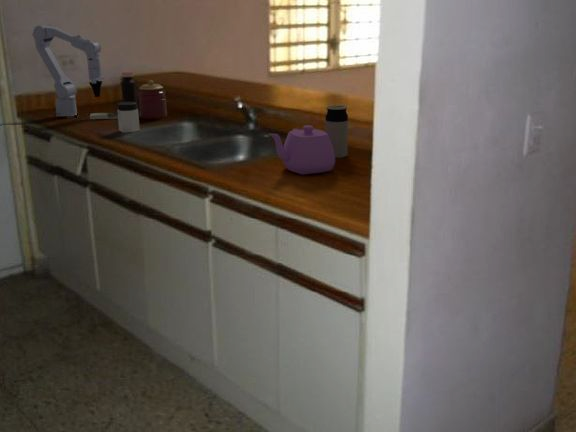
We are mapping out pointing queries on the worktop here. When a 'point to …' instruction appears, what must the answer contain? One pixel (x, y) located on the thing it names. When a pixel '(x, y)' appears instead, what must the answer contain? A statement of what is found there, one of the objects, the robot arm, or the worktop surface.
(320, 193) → the worktop surface
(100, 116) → the tile
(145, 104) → the canister
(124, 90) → the bottle
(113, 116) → the mat
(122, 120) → the jar
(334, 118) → the travel mug
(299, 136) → the teapot
